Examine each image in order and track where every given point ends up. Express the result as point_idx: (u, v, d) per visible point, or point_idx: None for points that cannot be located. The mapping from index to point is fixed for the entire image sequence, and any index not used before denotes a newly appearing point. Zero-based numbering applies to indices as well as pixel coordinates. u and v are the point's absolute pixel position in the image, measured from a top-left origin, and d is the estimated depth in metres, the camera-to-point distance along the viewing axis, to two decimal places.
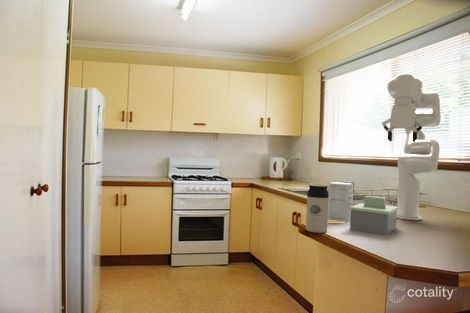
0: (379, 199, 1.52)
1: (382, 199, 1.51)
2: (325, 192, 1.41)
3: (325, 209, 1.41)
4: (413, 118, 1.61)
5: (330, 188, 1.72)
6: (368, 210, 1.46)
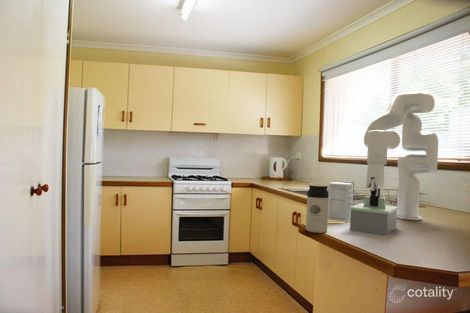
0: (379, 199, 1.52)
1: (382, 199, 1.51)
2: (325, 192, 1.41)
3: (325, 209, 1.41)
4: None
5: (330, 188, 1.72)
6: (368, 210, 1.46)
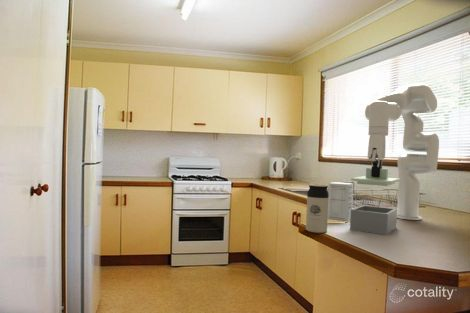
0: (381, 170, 1.52)
1: (384, 170, 1.51)
2: (325, 192, 1.41)
3: (325, 209, 1.41)
4: None
5: (330, 188, 1.72)
6: (370, 180, 1.46)
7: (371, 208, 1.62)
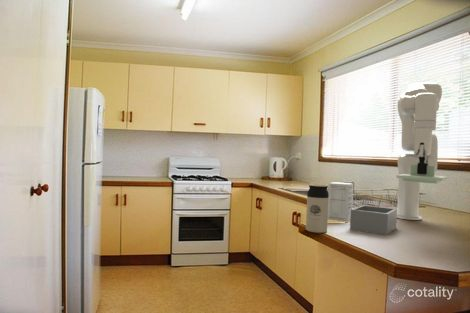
0: (428, 167, 1.42)
1: (431, 167, 1.41)
2: (325, 192, 1.41)
3: (325, 209, 1.41)
4: None
5: (330, 188, 1.72)
6: (418, 177, 1.36)
7: (371, 208, 1.62)
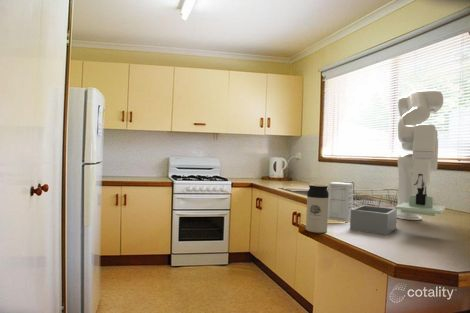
0: (426, 198, 1.42)
1: (430, 198, 1.41)
2: (325, 192, 1.41)
3: (325, 209, 1.41)
4: None
5: (330, 188, 1.72)
6: (416, 210, 1.36)
7: (371, 208, 1.62)
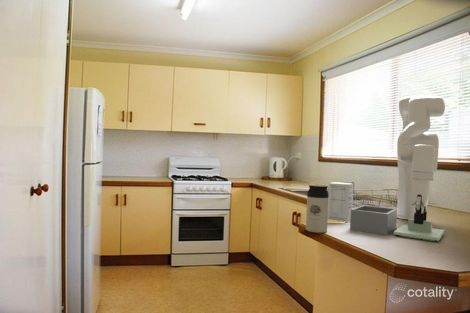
0: (425, 223, 1.42)
1: (428, 223, 1.42)
2: (325, 192, 1.41)
3: (325, 209, 1.41)
4: None
5: (330, 188, 1.72)
6: (415, 235, 1.37)
7: (371, 208, 1.62)
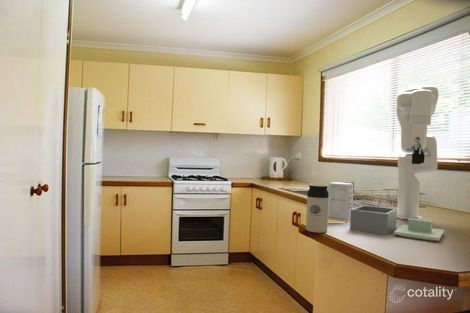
0: (425, 223, 1.42)
1: (428, 223, 1.42)
2: (325, 192, 1.41)
3: (325, 209, 1.41)
4: None
5: (330, 188, 1.72)
6: (415, 235, 1.37)
7: (371, 208, 1.62)
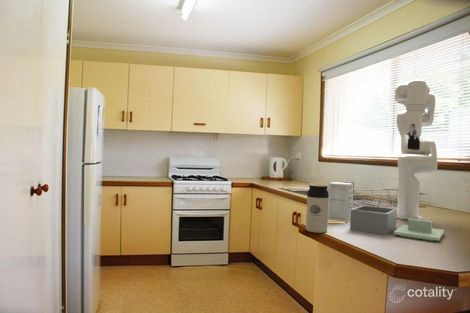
0: (425, 223, 1.42)
1: (428, 223, 1.42)
2: (325, 192, 1.41)
3: (325, 209, 1.41)
4: None
5: (330, 188, 1.72)
6: (415, 235, 1.37)
7: (371, 208, 1.62)
